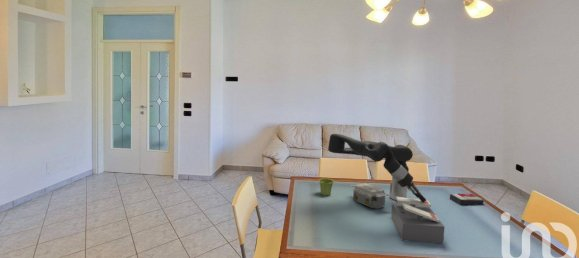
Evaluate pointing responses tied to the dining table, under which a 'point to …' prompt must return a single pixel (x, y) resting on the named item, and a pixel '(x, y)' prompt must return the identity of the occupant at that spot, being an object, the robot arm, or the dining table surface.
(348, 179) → the dining table surface
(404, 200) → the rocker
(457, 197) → the calculator
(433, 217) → the rocker
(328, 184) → the plant pot
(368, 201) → the grey boxy piece
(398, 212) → the rocker switch panel
